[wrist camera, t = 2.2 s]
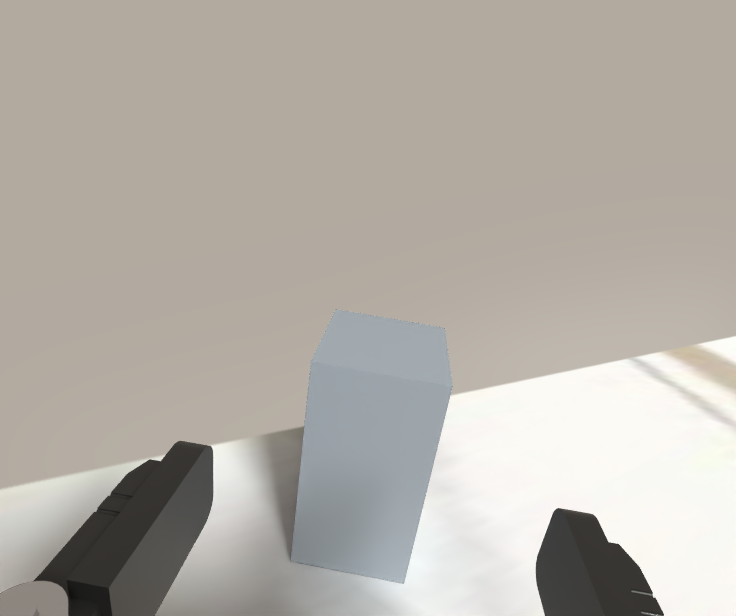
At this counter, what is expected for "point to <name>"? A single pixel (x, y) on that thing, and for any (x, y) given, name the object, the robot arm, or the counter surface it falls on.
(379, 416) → the tall pale blue block
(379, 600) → the counter surface
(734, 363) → the counter surface
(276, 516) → the counter surface
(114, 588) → the robot arm
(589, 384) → the counter surface
